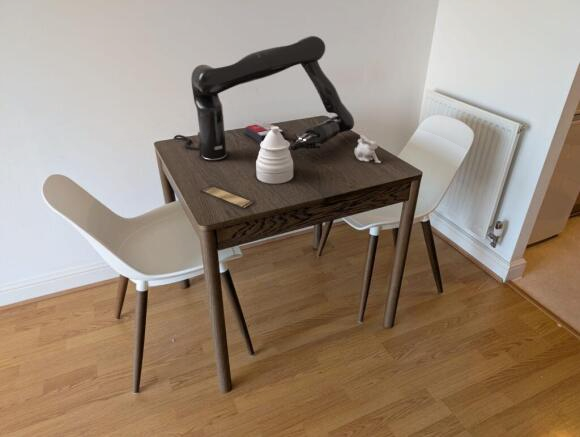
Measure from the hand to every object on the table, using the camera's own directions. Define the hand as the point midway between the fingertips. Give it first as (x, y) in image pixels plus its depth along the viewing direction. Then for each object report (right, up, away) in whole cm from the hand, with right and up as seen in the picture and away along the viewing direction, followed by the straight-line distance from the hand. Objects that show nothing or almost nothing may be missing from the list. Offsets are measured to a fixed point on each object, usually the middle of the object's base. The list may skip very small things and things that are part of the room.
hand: (292, 147), depth 152 cm
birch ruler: (-21, -18, -17) cm, 32 cm away
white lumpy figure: (+27, -3, +9) cm, 29 cm away
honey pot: (-6, -10, -3) cm, 12 cm away
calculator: (-11, +9, +29) cm, 33 cm away
